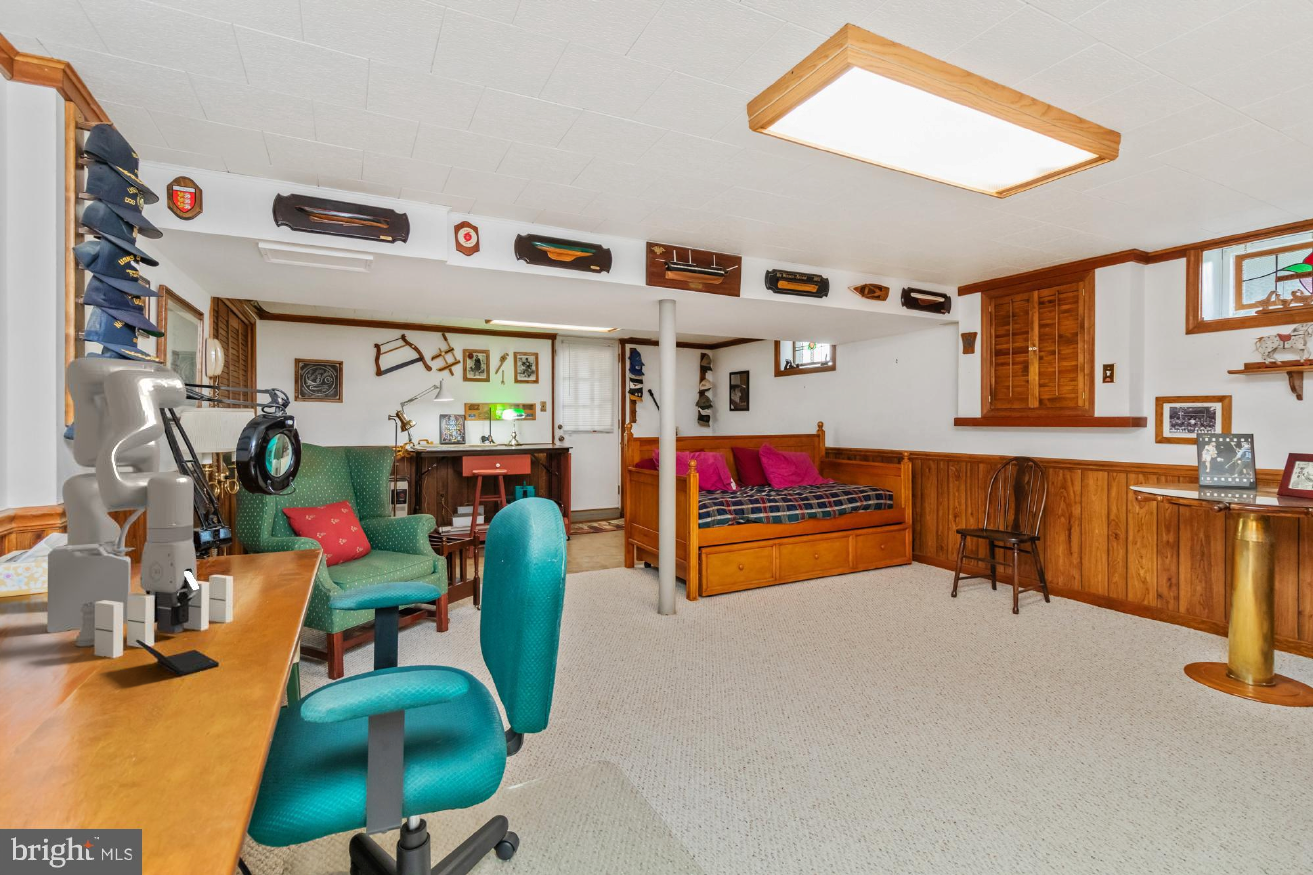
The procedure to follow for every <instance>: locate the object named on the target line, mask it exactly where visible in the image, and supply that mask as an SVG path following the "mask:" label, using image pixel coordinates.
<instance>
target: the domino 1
mask: <svg viewBox="0 0 1313 875" xmlns="http://www.w3.org/2000/svg"><path fill="white" fill-rule="evenodd" d="M94 655H95V656H97V657H98V656H99V657H100V656H101V657H104V656H106V658H109V657H110V659H115V658H119V657H121V656H123V655H124V623H123V603H122V602H114V601H107V600H103V601H99V602H95V646H94Z"/></svg>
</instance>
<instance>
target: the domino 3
mask: <svg viewBox="0 0 1313 875" xmlns="http://www.w3.org/2000/svg"><path fill="white" fill-rule="evenodd" d="M181 589H183V586H182V587H181V588H180V590H181ZM178 594H179V598H180V597H181V595H182V594H183V592H181V593H178ZM172 606H174V604H173V599H172V594H171V593H162V592H157V622H156V631H157V632H161V633H168V634H174V635H175V634H177V633H182V632H183V631H184V630H183V629H184V623H183V624H180V625H177V626H171V607H172Z"/></svg>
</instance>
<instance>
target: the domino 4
mask: <svg viewBox="0 0 1313 875" xmlns="http://www.w3.org/2000/svg"><path fill="white" fill-rule="evenodd" d="M196 584H197V585H198V587H199V592H197V593H196V594H195V595H194V597H193V598H192V599H191V603H189V621H188V622H187V623H183V629H187V630H193V629H194V630H195V631H199V632H200V631H204V630H208V629H209V627H210V625H209V624H210V623H209V622H210V621H209V581H202V580H201V581H200V580H196Z"/></svg>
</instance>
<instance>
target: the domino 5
mask: <svg viewBox="0 0 1313 875" xmlns="http://www.w3.org/2000/svg"><path fill="white" fill-rule="evenodd" d="M208 578H209V579H208V582H209V622H216V623H223V624H227V623H230V622H233V621H234V620H233V619H234V614H233V612H234V611H233V610H234V609H233V608H234V607H233V606H234V576H232V575H225V574H224V575H223V574H213V575H209V576H208Z"/></svg>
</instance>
